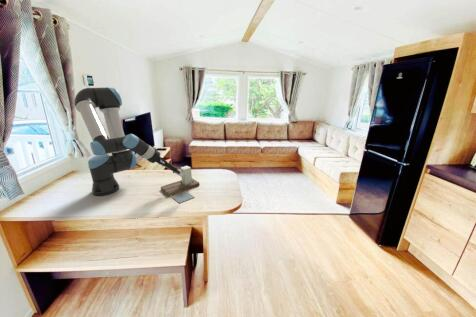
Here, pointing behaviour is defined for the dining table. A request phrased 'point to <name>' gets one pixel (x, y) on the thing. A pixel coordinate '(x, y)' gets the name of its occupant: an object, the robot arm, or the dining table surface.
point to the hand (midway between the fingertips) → (177, 172)
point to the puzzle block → (186, 175)
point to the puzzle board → (178, 187)
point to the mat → (183, 197)
